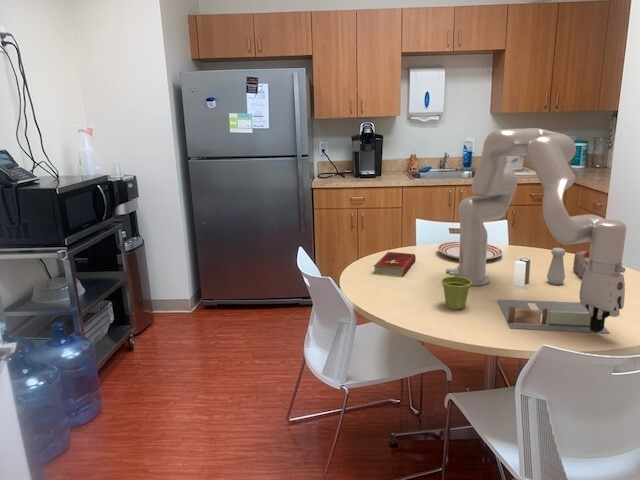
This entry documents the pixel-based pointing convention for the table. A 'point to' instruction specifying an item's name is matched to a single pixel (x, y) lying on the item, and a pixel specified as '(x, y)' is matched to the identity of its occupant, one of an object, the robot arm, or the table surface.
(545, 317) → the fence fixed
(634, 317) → the table surface
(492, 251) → the dinner plate
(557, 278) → the salt shaker
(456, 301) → the plant pot
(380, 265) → the hardcover book
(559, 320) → the bar
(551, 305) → the card
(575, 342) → the table surface
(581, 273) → the food item
